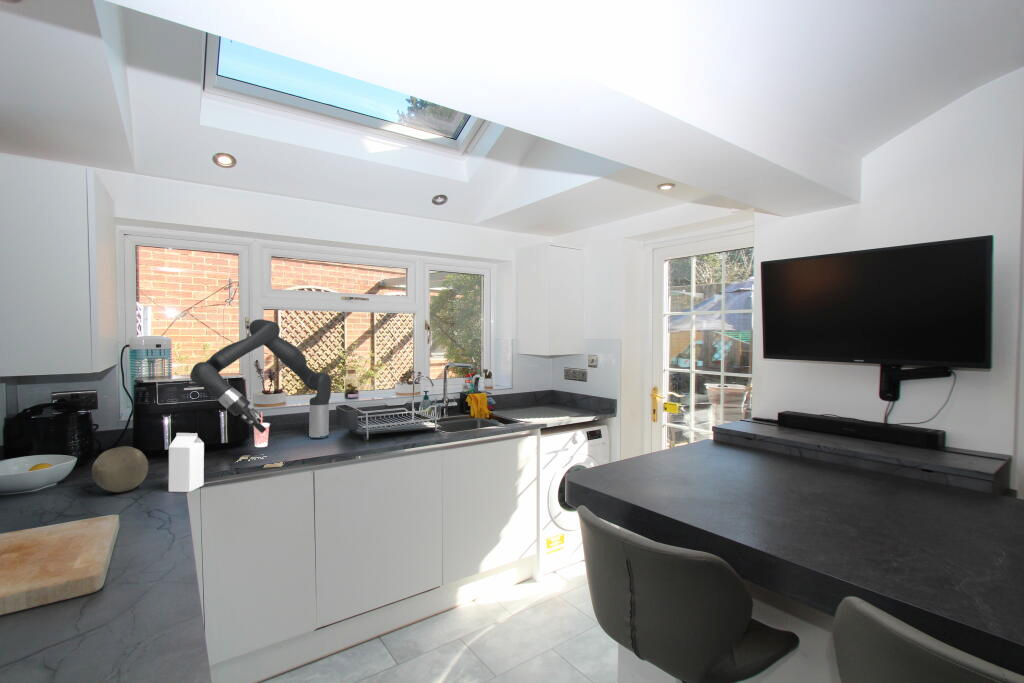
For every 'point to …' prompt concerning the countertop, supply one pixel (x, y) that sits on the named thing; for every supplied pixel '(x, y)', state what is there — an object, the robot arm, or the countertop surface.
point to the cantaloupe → (120, 469)
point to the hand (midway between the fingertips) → (266, 429)
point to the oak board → (262, 458)
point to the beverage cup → (261, 435)
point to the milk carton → (186, 463)
